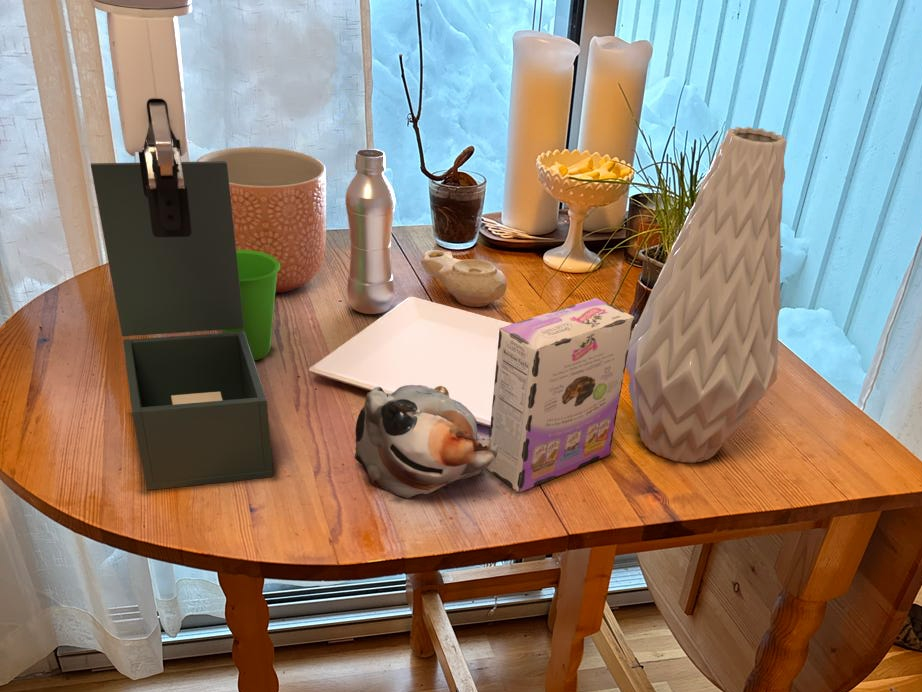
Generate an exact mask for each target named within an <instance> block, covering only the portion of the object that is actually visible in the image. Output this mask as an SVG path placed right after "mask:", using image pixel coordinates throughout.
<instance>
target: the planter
mask: <svg viewBox="0 0 922 692" xmlns="http://www.w3.org/2000/svg"><path fill="white" fill-rule="evenodd" d="M207 161H226V162H227V167H228V177H229V186H230V196H231V206H232V215H233V225H234V235H235V244H236V250H252V251H259V252H263V253H266V254H269V255H271V256H273V257H274V258H276V259H277V260H278V262H279V263H280V269H279V271H278V272H277V279H276V290H275V294H278V293H286V292H290V291H294V290H296V289H299V288H301V287H302V286H304V285H306V284H307V283H308V282H309V281H311V280H312V279H313V278H314V277H315V276H316V275H317V274H318V272H319V271H320V269H321V267H322V264H323V262H324V258H325V254H326V253H325V251H326V244H327V169H326V166H325V164H324V163H323V162H322V161H320V160H319V159H318V158H316V157H313V156H312V155H309V154H305V153H303V152H301V151H300V152H299V151H296V150H290V149H285V148H277V147H265V146H242V147H230V148H224V149H219V150H215V151H211V152H208V153H206V154H204V155H202V156H200V157H198V159H197V160H196V161H195V162H207Z"/></svg>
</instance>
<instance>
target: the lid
mask: <svg viewBox="0 0 922 692" xmlns="http://www.w3.org/2000/svg"><path fill="white" fill-rule="evenodd" d="M181 165H182V172H183V178H184V185H186V186H187V193H188V203H189V212H190V222H191V235H190V236H189V237H155V236H154V235H153V233H152V227H151V219H150V212H149V204H148V197H146V196H145V195H144V190H143V183H142V175H141V168H140V162H97V163H96V162H91V163H90V169H91V175H92V180H93V185H94V191H95V195H96V201H97V202H96V203H97V208H98V213H99V216H100V217H99V219H100V224H101V229H102V235H103V240H104V244H105V245H104V246H105V250H106V256H107V263H108V267H109V272H110V278H111V283H112V289H113V294H114V301H115V306H116V312H117V316H118V321H119V328H120V332H121V337H134V336H135V337H136V336H149V335H150V336H152V335H165V334H166V335H167V334H181V333H196V332H197V333H199V332H212V331H213V332H215V331H222V330H229V329H244V322H243V312H242V302H241V293H240V283H239V273H238V264H237V254H236V244H235V235H234V225H233V215H232V206H231V196H230V186H229V177H228V167H227V162H226V161H207V162H196V161H181Z"/></svg>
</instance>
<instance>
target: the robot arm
mask: <svg viewBox="0 0 922 692" xmlns="http://www.w3.org/2000/svg"><path fill="white" fill-rule="evenodd" d="M90 4H91V7H93V8H94V9H97V10H98V11H102V12H104V13H106V23H107V35H108V44H109V51H110V53H109V54H110V59H111V68H112V73H113V82H114V88H115V95H116V102H117V108H118V109H117V110H118V114H119V121H120V122H119V123H120V129H121V134H122V140H123V145H124V149H125V152H127V154H129V156H130V157H136V153H137V154H138V159H139V163H140V168H141V175H142V183H143V190H144V195H145V196H146V197H148V204H149V212H150V219H151V227H152V233H153V235H154V236H155V237H189V236H190V235H191V222H190V212H189V203H188V193H187V186H186V185H184V178H183V172H182V165H181V162H182V159H181V157H183V156H185V154H186V153H187V152H188V134H187V114H186V113H187V111H186V110H187V109H186V95H185V84H184V83H185V82H184V73H183V71H184V70H183V59H182V49H181V48H182V47H181V38H180V28H179V19H178V17H182V16H187V15H190V14H191V13H192V12H193V4H192V0H90Z"/></svg>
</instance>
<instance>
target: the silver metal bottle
mask: <svg viewBox="0 0 922 692" xmlns="http://www.w3.org/2000/svg"><path fill="white" fill-rule="evenodd" d="M354 169H355V171H356V174H355V175H354V176H353V178H352V180H351V181H350V183H349V185H348V186H347V188H346V190H345V194H344V199H345V200H344V201H345V203H344V204H345V209H346V215H347V223H348V227H349V228H348V229H349V240H350V243H349V246H350V255H349V258H350V259H349V274H348V277H347V282H346V283H347V284H346V296H347V300H348V303H349V305H350V306H351V308H352V309H353V310H355V311H356V312H359V313H362V314H367V315H376V314H382V313H385V312H387V311H389V310H390V308H391V307H392V306H393V303H394V300H395V294H396V287H395V281H394V275H393V269H392V255H391V254H392V253H391V248H392V243H391V242H392V230H393V223H394V216H395V208H396V196H395V192H394V189H393V187H392V185H391V183H390V182H389V181H388V179H387V177H386V176H385V175H384V172H385V171H386V169H387V166H386V153H385V152H384V151H383V150H380V149H375V148H362V149H358V150H357V151H356V152H355V162H354Z"/></svg>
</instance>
